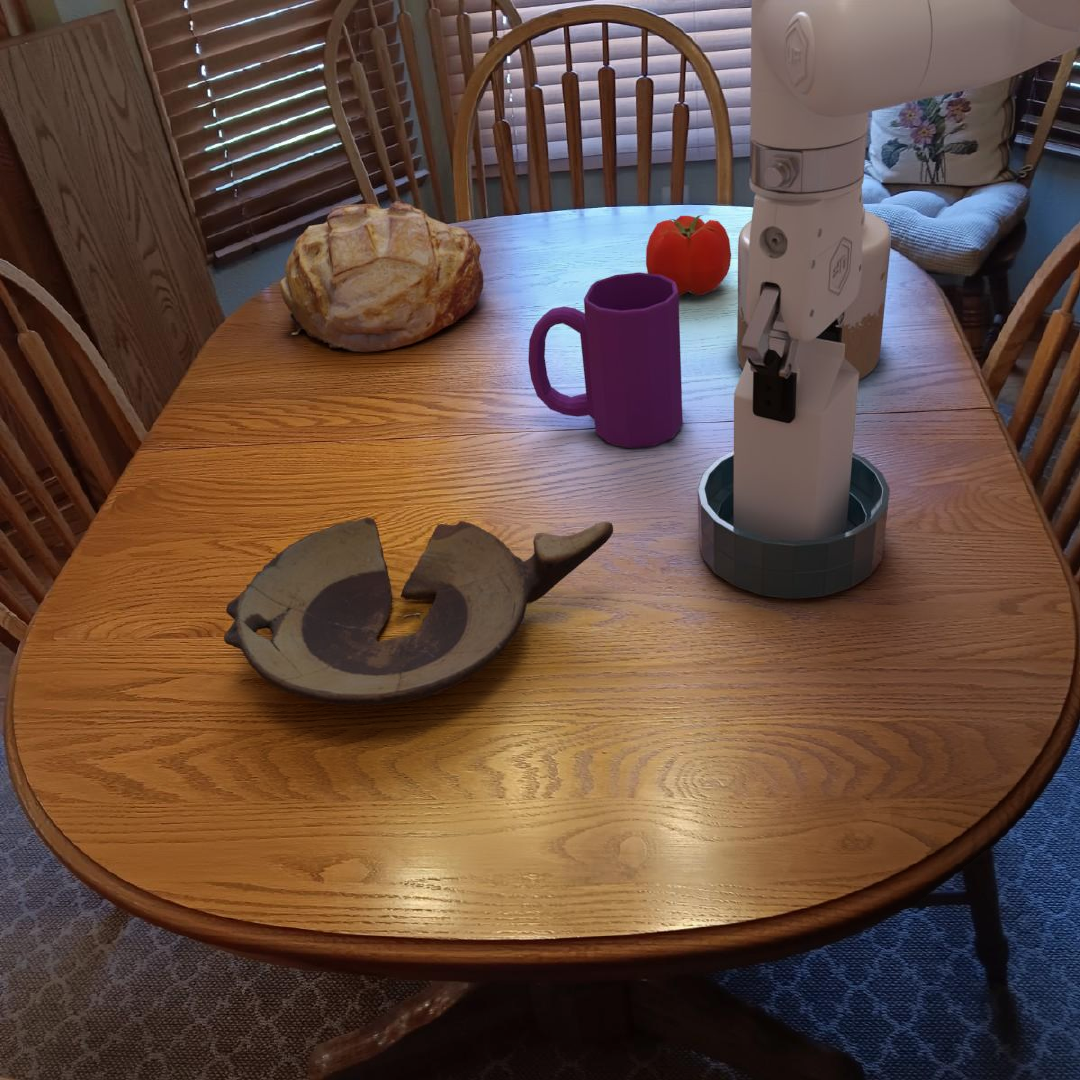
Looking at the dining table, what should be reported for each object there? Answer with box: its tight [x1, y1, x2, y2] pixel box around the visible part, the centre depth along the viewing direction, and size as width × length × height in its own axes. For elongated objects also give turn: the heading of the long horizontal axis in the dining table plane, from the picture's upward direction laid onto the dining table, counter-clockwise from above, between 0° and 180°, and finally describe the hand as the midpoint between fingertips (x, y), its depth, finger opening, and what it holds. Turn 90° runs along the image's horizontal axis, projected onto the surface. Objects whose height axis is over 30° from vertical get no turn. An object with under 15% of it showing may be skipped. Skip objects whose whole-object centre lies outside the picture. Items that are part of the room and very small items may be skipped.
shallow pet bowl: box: [697, 450, 891, 600], centre depth 88 cm, size 15×15×6 cm
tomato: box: [645, 214, 732, 296], centre depth 131 cm, size 11×11×9 cm
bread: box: [279, 199, 484, 353], centre depth 134 cm, size 25×27×15 cm
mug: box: [528, 272, 684, 449], centre depth 104 cm, size 9×16×15 cm, turn 75°
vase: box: [736, 204, 892, 381], centre depth 111 cm, size 15×15×17 cm
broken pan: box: [223, 516, 614, 707], centre depth 82 cm, size 22×30×8 cm
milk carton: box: [733, 337, 860, 541], centre depth 83 cm, size 7×7×19 cm
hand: (796, 392), depth 80 cm, fingers closed on milk carton, 7 cm apart
